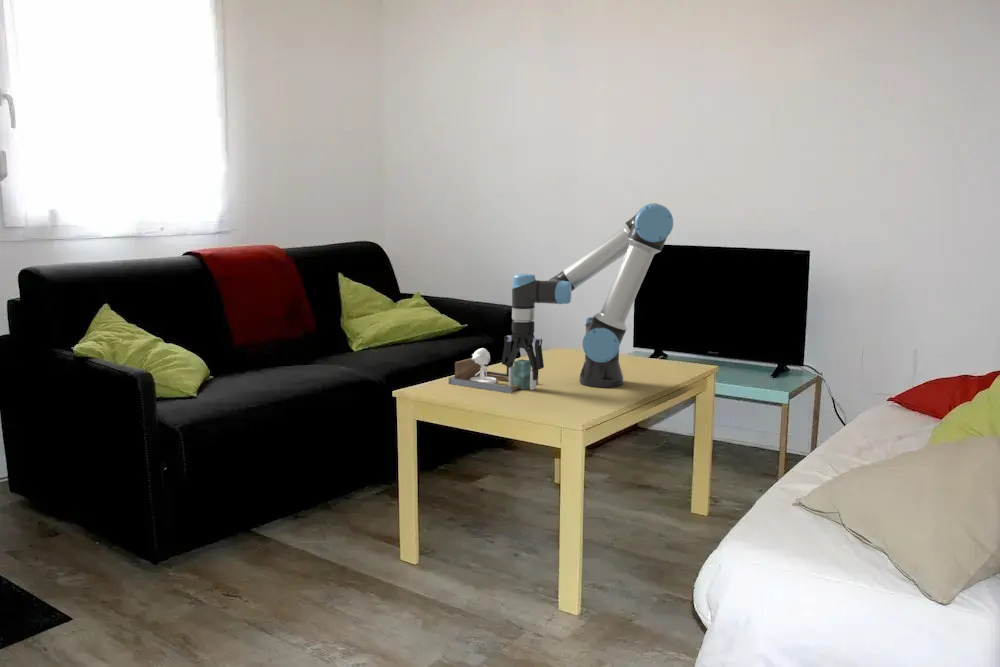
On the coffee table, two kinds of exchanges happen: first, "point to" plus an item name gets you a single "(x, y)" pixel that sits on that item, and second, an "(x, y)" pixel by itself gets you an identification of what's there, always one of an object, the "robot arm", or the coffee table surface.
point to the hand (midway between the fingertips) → (522, 387)
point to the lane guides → (483, 385)
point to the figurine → (482, 366)
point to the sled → (470, 368)
